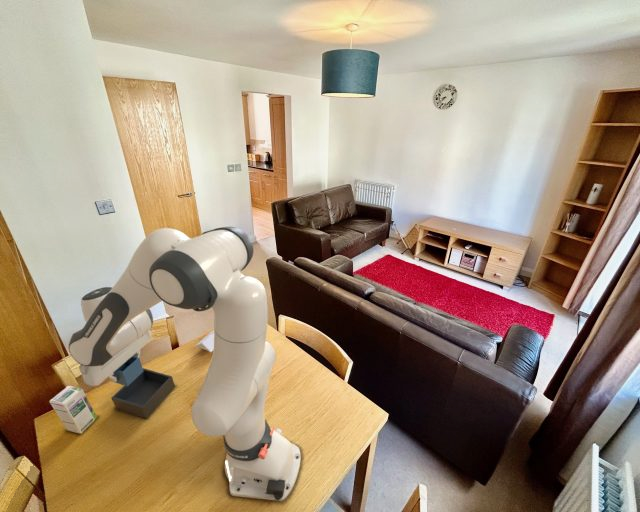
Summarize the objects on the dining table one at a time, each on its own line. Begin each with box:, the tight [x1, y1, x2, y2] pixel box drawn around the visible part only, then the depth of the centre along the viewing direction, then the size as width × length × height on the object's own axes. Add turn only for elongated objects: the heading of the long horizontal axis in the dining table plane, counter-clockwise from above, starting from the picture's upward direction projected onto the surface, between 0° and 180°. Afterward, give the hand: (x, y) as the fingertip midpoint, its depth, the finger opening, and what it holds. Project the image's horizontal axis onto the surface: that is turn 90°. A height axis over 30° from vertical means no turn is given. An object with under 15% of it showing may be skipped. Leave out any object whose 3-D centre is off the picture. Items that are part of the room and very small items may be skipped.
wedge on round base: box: [194, 330, 214, 353], centre depth 122 cm, size 9×7×13 cm
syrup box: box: [48, 385, 98, 435], centre depth 87 cm, size 6×6×14 cm
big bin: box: [111, 367, 176, 419], centre depth 98 cm, size 13×13×6 cm
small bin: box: [113, 356, 144, 386], centre depth 86 cm, size 6×6×6 cm
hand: (126, 370), depth 86 cm, fingers closed on small bin, 6 cm apart
